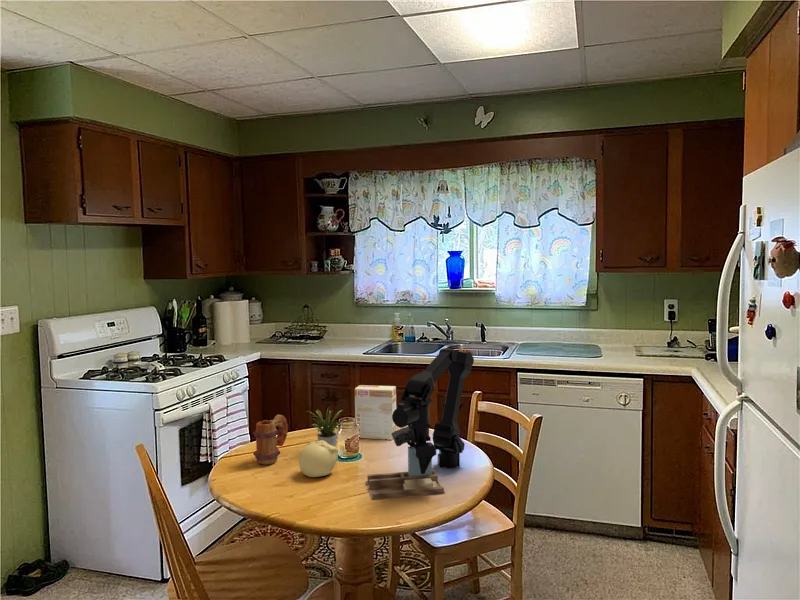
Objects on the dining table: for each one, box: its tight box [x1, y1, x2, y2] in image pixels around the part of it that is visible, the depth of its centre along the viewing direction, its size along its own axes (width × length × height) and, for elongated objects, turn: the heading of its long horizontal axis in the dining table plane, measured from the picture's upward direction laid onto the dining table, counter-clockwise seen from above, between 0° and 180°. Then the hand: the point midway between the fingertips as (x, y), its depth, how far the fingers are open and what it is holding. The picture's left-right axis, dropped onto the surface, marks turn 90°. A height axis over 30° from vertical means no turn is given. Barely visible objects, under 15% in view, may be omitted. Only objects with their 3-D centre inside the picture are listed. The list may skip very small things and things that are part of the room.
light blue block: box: [407, 446, 433, 477], centre depth 188 cm, size 7×2×11 cm, turn 100°
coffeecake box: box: [354, 384, 398, 441], centre depth 236 cm, size 15×7×20 cm, turn 77°
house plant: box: [307, 406, 344, 447], centre depth 219 cm, size 14×14×16 cm
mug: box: [252, 414, 289, 466], centre depth 211 cm, size 15×8×15 cm, turn 148°
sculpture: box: [298, 440, 339, 478], centre depth 198 cm, size 12×12×11 cm
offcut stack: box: [403, 478, 439, 490], centre depth 182 cm, size 10×4×2 cm, turn 100°
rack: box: [364, 469, 446, 500], centre depth 184 cm, size 22×14×4 cm, turn 100°
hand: (420, 469), depth 188 cm, fingers open, 8 cm apart
